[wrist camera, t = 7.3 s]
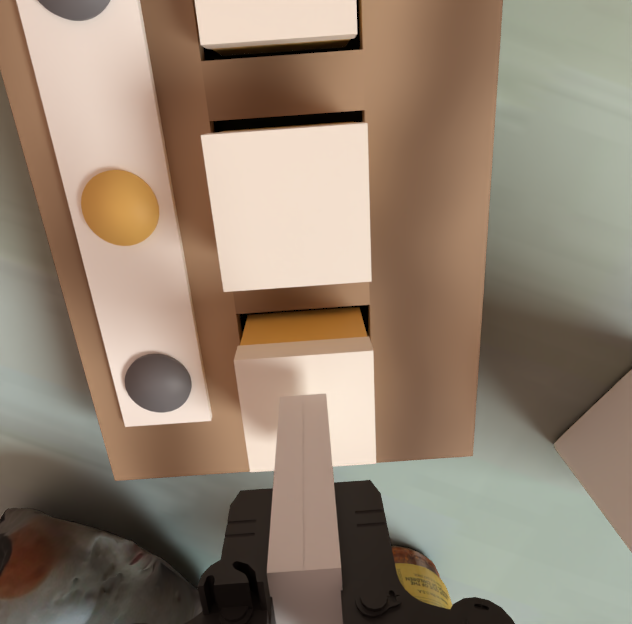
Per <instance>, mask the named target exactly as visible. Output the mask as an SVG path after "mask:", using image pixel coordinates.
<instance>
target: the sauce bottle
mask: <svg viewBox="0 0 632 624" xmlns="http://www.w3.org/2000/svg"><path fill="white" fill-rule="evenodd" d="M391 547H392V552H393V557H394V562H395V566H396V571H397V575H398V578H399V581H400V582H401V584H402V585H403V587H404V588H405V590H406V591H408V592H409V593H410V594H411V595H412V596H413V597H415V598H417V599H418V600H420V601H422V602H425V603H427V604H430V605H434V606H438V607H442V608H446V609H451V607H452V603H451V600H450V597H449V594H448V591H447V588H446V586H445V585H444V583H443V582H442V580H441V579H440V577H439V574H438V571H437V569H436V567H435V565H434V564H433V562H432V561H431V560H429V559H428V558H427V557H426V556H424V555H422V554H421V553H419V552H417V551H414V550H411V549H410V548H405V547H400V546H395V545H394V546H391Z"/></svg>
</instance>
